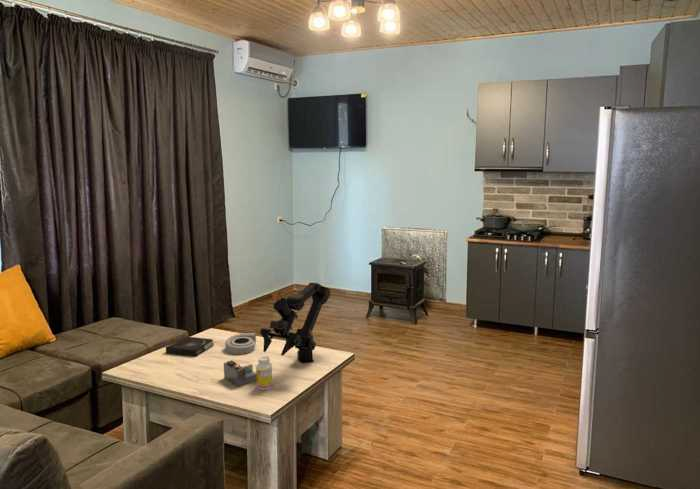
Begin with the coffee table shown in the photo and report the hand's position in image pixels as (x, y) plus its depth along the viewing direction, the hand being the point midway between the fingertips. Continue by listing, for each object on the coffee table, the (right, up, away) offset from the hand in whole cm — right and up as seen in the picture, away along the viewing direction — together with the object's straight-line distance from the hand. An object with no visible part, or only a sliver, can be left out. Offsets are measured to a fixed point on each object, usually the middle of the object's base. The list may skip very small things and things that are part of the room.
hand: (272, 353), depth 233 cm
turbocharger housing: (-22, -7, +42) cm, 48 cm away
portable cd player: (-48, -7, +41) cm, 63 cm away
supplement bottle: (-3, -14, -4) cm, 14 cm away
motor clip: (-13, -12, +5) cm, 19 cm away
